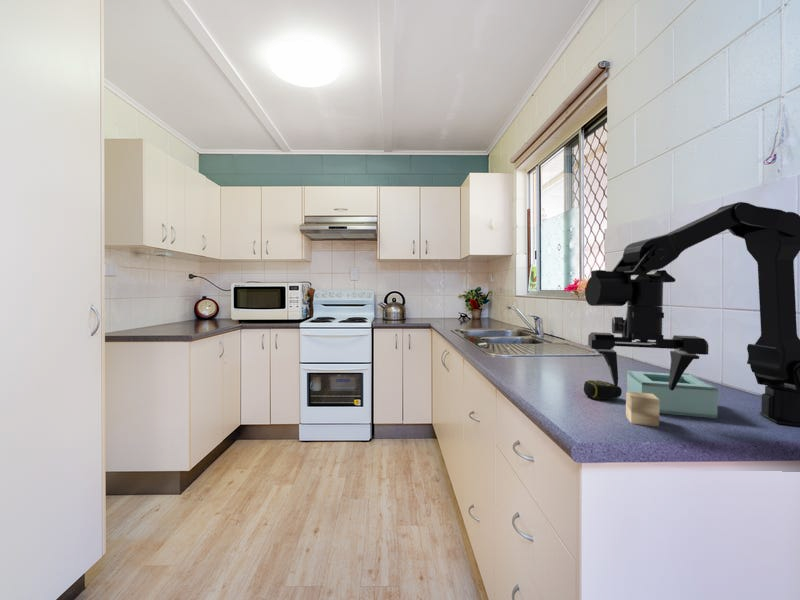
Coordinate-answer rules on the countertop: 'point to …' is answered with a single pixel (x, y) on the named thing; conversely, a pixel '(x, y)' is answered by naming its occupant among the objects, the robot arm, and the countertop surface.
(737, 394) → the countertop surface
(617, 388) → the tape measure
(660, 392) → the teal box
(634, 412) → the pine block
